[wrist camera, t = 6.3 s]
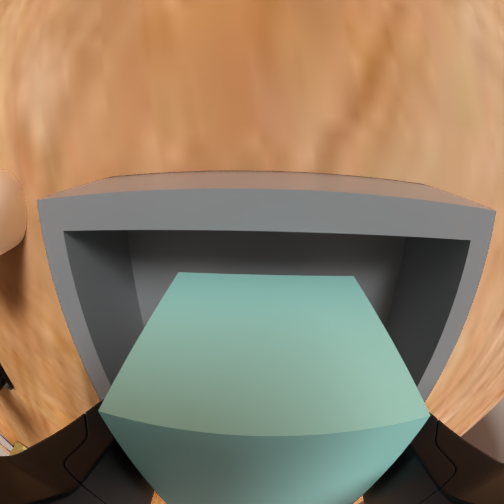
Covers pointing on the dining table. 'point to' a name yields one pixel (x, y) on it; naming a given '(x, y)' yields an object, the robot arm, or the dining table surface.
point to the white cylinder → (11, 211)
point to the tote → (264, 252)
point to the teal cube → (263, 392)
